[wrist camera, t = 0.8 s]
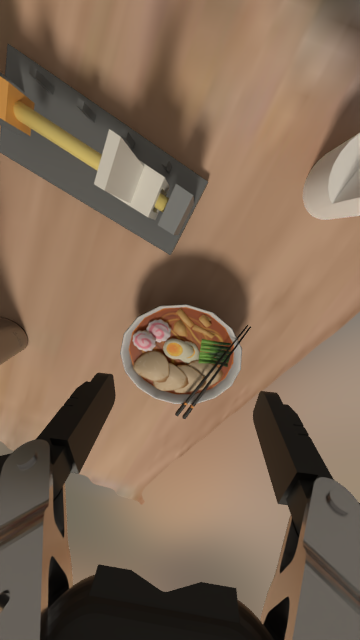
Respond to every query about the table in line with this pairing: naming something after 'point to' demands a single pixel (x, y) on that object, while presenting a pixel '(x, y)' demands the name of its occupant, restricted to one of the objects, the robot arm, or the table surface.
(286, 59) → the table surface
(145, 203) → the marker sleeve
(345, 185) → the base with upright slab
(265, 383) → the table surface
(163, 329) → the ramen bowl
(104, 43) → the table surface
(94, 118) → the cable comb fixture
